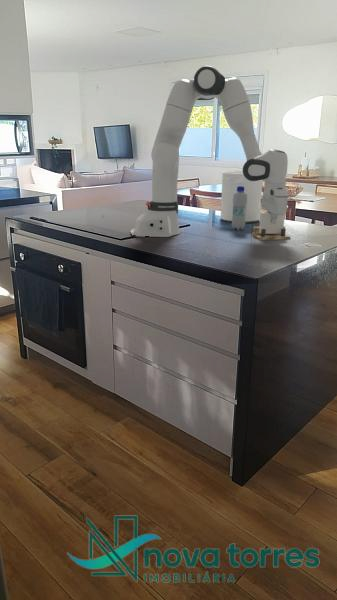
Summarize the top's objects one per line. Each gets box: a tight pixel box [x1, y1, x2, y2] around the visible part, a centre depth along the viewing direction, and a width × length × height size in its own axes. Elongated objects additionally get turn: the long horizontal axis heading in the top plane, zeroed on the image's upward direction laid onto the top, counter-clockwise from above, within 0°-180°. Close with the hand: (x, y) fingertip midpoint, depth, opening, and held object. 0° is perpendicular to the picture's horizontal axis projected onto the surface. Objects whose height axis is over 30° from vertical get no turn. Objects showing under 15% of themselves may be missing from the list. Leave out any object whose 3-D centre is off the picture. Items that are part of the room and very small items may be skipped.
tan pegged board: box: [251, 226, 291, 241], centre depth 195 cm, size 14×10×4 cm
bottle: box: [231, 186, 247, 231], centre depth 208 cm, size 7×7×20 cm
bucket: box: [220, 170, 263, 224], centre depth 231 cm, size 26×22×24 cm
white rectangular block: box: [258, 211, 286, 234], centre depth 193 cm, size 10×2×9 cm, turn 98°
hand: (271, 222), depth 193 cm, fingers closed on white rectangular block, 2 cm apart
